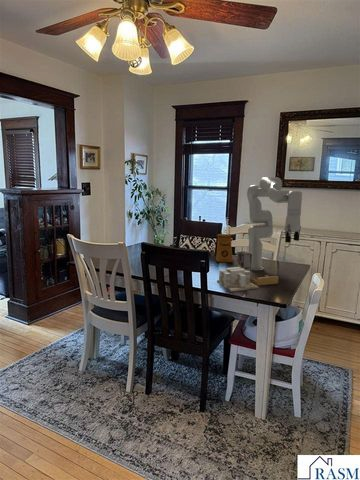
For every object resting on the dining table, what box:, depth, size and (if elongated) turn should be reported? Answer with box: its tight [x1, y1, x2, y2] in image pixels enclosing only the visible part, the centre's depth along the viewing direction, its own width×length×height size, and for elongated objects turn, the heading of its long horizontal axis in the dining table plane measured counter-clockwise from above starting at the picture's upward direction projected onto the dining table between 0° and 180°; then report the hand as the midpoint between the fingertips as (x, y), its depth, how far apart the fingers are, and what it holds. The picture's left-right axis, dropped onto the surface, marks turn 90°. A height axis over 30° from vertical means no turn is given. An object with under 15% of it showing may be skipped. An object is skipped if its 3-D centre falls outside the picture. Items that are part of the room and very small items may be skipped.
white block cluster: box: [216, 266, 259, 292], centre depth 201 cm, size 19×18×9 cm
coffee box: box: [235, 251, 252, 278], centre depth 219 cm, size 9×6×16 cm
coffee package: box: [215, 233, 233, 263], centre depth 257 cm, size 10×12×22 cm
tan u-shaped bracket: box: [250, 274, 279, 286], centre depth 209 cm, size 12×14×4 cm
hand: (292, 241), depth 194 cm, fingers open, 9 cm apart
